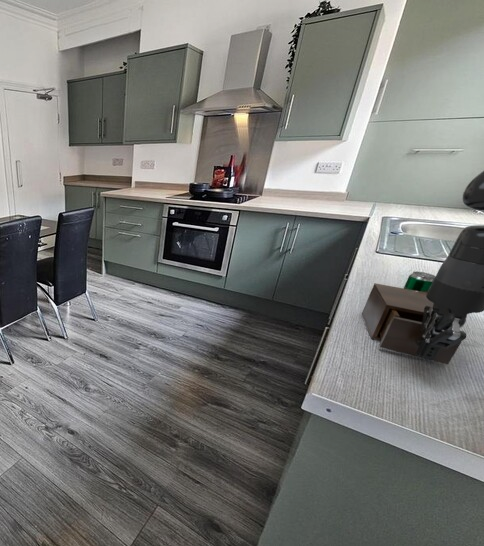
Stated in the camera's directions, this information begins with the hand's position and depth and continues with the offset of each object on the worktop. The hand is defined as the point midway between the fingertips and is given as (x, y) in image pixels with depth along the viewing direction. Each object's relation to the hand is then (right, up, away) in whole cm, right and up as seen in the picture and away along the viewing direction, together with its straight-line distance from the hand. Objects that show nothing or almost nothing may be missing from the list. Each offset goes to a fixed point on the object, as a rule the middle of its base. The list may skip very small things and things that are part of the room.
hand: (423, 357), depth 65 cm
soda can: (+21, +6, +23) cm, 32 cm away
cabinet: (+9, +2, +14) cm, 17 cm away
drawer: (+5, +1, +9) cm, 10 cm away
